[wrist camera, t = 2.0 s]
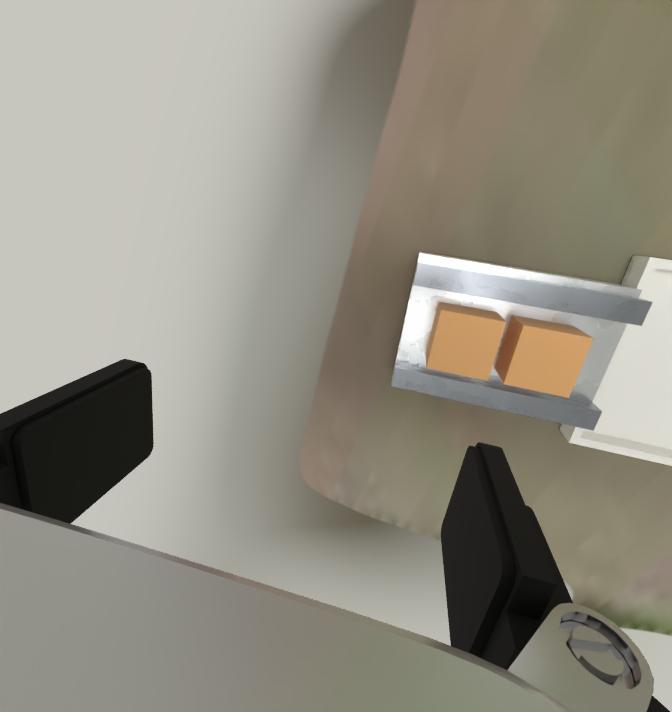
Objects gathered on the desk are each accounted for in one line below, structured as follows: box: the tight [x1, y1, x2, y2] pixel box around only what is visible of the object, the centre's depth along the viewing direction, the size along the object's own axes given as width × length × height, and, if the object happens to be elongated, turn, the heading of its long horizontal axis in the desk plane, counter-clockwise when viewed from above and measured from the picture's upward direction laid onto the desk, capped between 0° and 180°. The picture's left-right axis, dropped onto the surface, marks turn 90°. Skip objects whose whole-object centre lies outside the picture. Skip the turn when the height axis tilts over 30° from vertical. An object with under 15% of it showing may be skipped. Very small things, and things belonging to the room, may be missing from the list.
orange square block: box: [495, 315, 594, 398], centre depth 24 cm, size 4×4×3 cm
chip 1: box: [425, 301, 507, 381], centre depth 25 cm, size 4×4×3 cm
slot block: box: [391, 251, 653, 431], centre depth 26 cm, size 14×10×4 cm
